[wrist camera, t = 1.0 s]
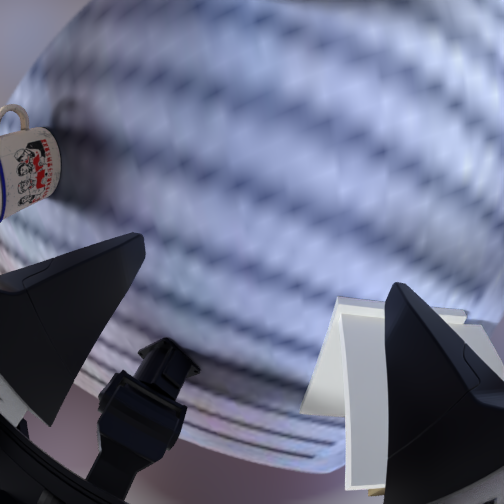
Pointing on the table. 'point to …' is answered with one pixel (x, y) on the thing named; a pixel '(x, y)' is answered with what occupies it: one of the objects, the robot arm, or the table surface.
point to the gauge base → (369, 382)
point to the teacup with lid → (26, 165)
